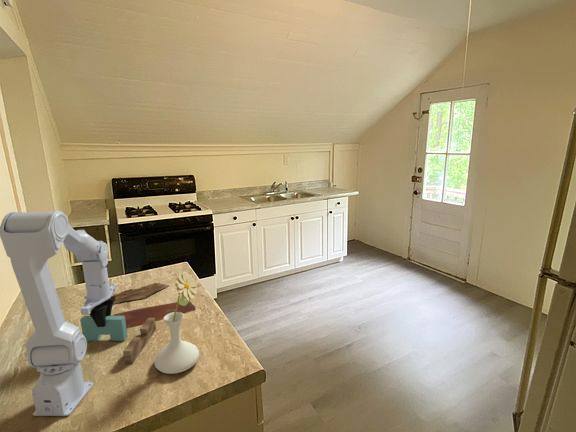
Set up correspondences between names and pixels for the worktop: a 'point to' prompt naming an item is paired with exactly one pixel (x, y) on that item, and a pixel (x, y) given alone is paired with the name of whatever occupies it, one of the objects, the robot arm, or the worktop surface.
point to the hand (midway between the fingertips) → (103, 323)
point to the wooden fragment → (138, 292)
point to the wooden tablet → (152, 313)
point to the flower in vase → (178, 332)
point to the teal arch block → (104, 328)
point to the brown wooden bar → (139, 341)
